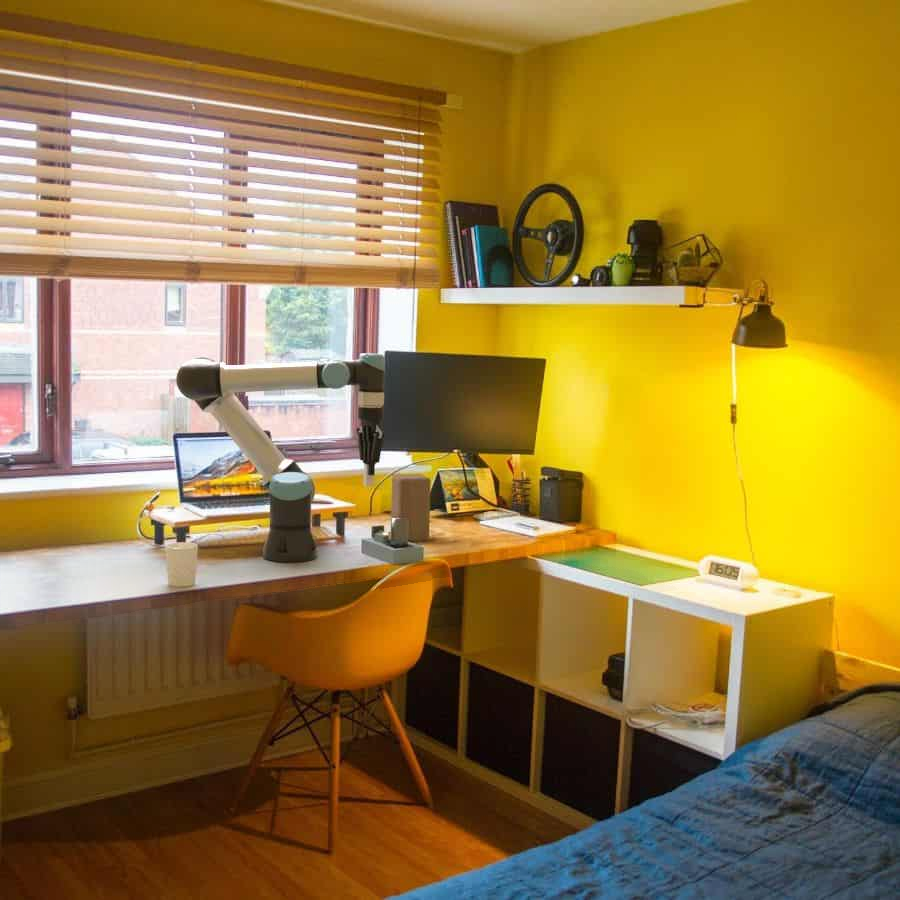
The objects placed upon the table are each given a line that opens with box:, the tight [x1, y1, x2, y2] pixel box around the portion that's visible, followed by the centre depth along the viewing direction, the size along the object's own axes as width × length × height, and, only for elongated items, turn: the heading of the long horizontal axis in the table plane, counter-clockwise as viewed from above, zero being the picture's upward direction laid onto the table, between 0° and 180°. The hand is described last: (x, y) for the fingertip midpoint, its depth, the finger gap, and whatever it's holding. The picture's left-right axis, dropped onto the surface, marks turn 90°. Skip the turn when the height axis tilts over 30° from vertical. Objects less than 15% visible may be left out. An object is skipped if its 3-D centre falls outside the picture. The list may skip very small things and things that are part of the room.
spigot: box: [390, 516, 409, 549], centre depth 312 cm, size 5×5×12 cm
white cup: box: [165, 541, 198, 588], centre depth 277 cm, size 8×8×10 cm
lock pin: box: [370, 524, 391, 542], centre depth 319 cm, size 4×9×3 cm, turn 34°
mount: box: [360, 531, 425, 565], centre depth 316 cm, size 10×18×6 cm, turn 34°
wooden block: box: [390, 473, 431, 543], centre depth 340 cm, size 10×10×20 cm
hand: (368, 485), depth 325 cm, fingers closed
